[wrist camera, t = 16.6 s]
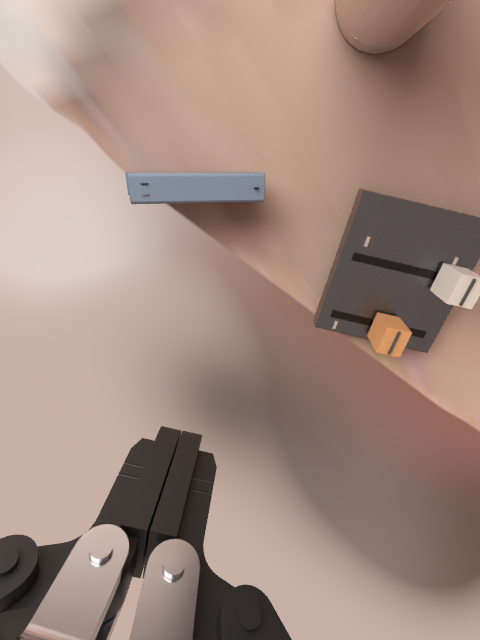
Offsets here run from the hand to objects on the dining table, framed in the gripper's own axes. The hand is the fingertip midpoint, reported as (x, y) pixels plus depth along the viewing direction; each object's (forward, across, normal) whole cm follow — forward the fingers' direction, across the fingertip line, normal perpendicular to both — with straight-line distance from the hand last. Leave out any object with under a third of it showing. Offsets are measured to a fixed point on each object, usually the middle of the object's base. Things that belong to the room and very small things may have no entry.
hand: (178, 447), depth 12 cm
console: (+35, -20, 0) cm, 40 cm away
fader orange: (+32, -20, +7) cm, 39 cm away
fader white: (+33, -25, -2) cm, 41 cm away
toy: (+35, +7, -5) cm, 37 cm away
